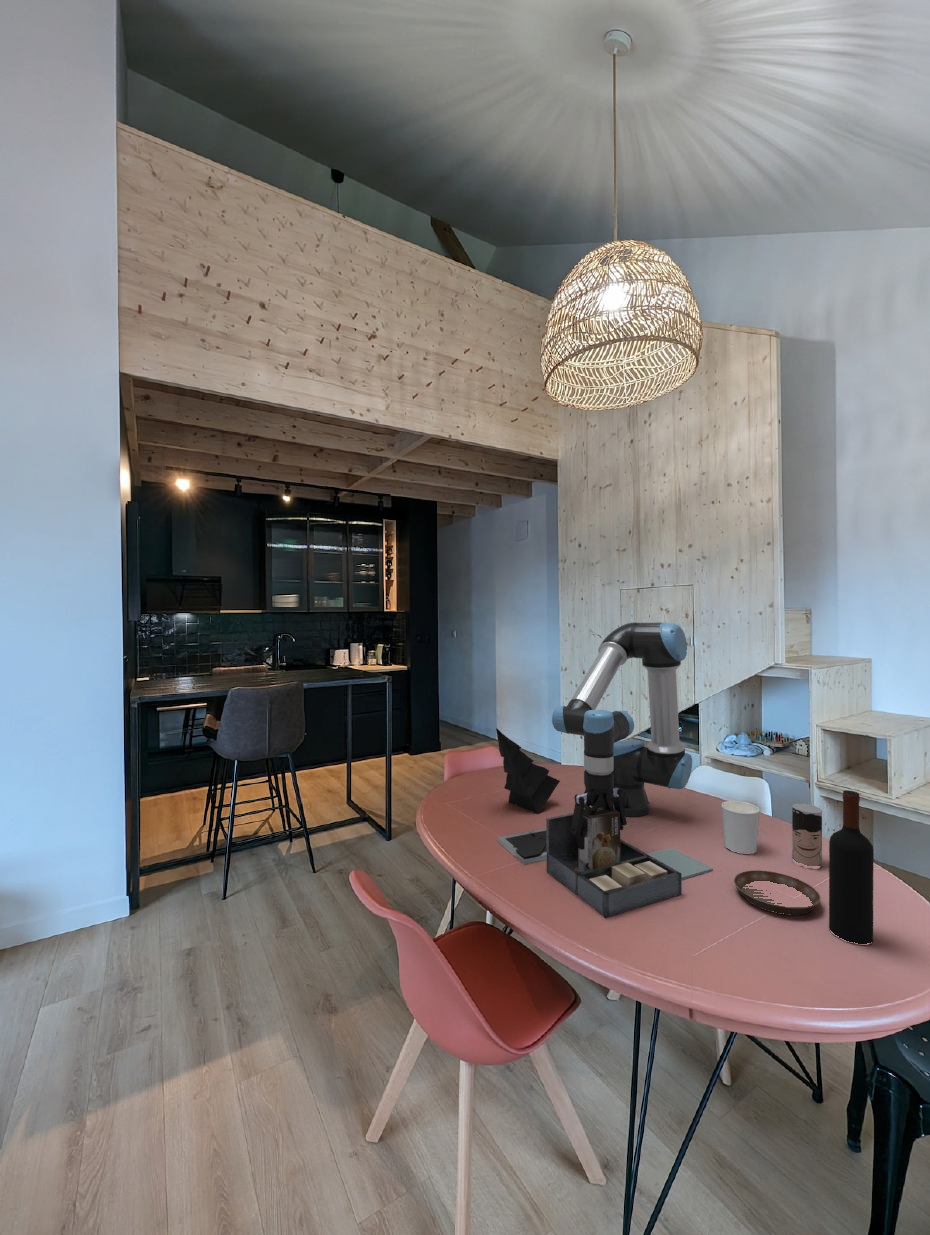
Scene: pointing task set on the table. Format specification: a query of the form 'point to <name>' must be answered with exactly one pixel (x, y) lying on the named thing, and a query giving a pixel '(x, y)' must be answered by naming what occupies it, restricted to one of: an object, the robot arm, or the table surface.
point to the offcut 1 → (605, 883)
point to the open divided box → (604, 873)
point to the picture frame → (527, 845)
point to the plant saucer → (773, 877)
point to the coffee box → (602, 839)
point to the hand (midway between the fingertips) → (599, 856)
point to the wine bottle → (851, 877)
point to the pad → (680, 862)
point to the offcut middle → (627, 875)
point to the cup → (807, 834)
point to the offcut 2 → (651, 870)
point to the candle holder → (740, 826)
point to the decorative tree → (524, 777)
